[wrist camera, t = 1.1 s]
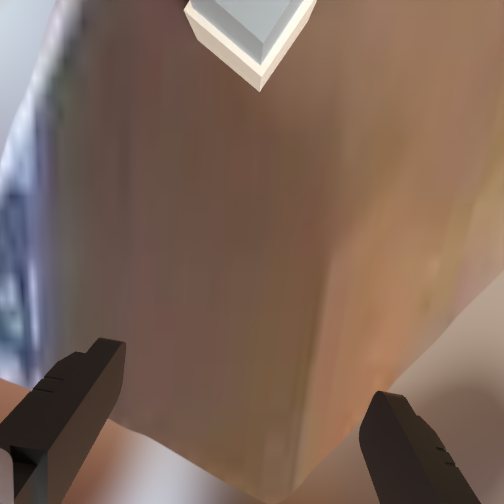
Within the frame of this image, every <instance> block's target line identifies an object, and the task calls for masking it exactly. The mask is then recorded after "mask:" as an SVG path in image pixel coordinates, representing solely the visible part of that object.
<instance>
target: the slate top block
mask: <svg viewBox="0 0 504 504" xmlns="http://www.w3.org/2000/svg"><path fill="white" fill-rule="evenodd" d="M303 1H304V0H190V2H191V4H192V7H193V9H194V10H196V11H197V12H198V13H199V14H200V15H201V16H203V17H204V18H205V19H206V20H207V21H208V22H210V23H211V24H212V25H213V26H214V27H215V28H217V29H218V30H219V31H220V32H221V33H223V34H224V35H225V36H226V37H227V38H228V39H230V40H231V41H232V42H233V43H234V44H235V45H237V46H238V47H239V48H240V49H241V50H242V51H244V52H245V53H246V54H247V55H248V56H250V57H251V58H252V59H253V60H254V61H255V62H257V63H258V64H259V65H260V66H261V64H262V63H263V61H264V60H265V58H266V57H267V55H268V54H269V52H270V51H271V49H272V48H273V46H274V45H275V43H276V42H277V40H278V39H279V37H280V36H281V34H282V33H283V31H284V29H285V28H286V26H287V25H288V23H289V22H290V20H291V19H292V17H293V16H294V14H295V13H296V11H297V10H298V8H299V7H300V5H301V4H302V2H303Z"/></svg>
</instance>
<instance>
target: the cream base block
mask: <svg viewBox="0 0 504 504" xmlns="http://www.w3.org/2000/svg"><path fill="white" fill-rule="evenodd" d="M316 1H317V0H304V1H303V2H302V4H301V5H300V7H299V8H298V10H297V11H296V13H295V14H294V16H293V17H292V19H291V20H290V22H289V23H288V25H287V26H286V28H285V29H284V31H283V33H282V34H281V36H280V37H279V39H278V40H277V42H276V43H275V45H274V46H273V48H272V49H271V51H270V52H269V54H268V55H267V57H266V58H265V60H264V61H263V63H262V64H261V66H260V65H259V64H258V63H257V62H255V61H254V60H253V59H252V58H251V57H250V56H248V55H247V54H246V53H245V52H244V51H242V50H241V49H240V48H239V47H238V46H237V45H235V44H234V43H233V42H232V41H231V40H230V39H228V38H227V37H226V36H225V35H224V34H223V33H221V32H220V31H219V30H218V29H217V28H215V27H214V26H213V25H212V24H211V23H210V22H208V21H207V20H206V19H205V18H204V17H203V16H201V15H200V14H199V13H198V12H197V11H196V10H194V9H193V7H192V4H191V2H190V0H189V2H188V4H187V6H186V7H185V9H184V12H185V14H186V16H187V18H188V21H189V23H190V25H191V27H192V29H193V31H194V33H195V35H196V38H197V40H199V41H200V42H201V43H202V44H203V45H204V46H206V47H207V48H208V49H209V50H210V51H212V52H213V53H214V54H215V55H216V56H218V57H219V58H220V59H221V60H222V61H223V62H225V63H226V64H227V65H228V66H229V67H231V68H232V69H233V70H234V71H235V72H236V73H238V74H239V75H240V76H241V77H242V78H244V79H245V80H246V81H247V82H248V83H250V84H251V85H252V86H253V87H254V88H255V89H257V90H258V91H259V92H260V90H261V89H262V87H263V86H264V84H265V83H266V82H267V80H268V79H269V77H270V76H271V74H272V73H273V71H274V70H275V68H276V67H277V65H278V64H279V63H280V61H281V60H282V58H283V57H284V55H285V54H286V52H287V51H288V49H289V48H290V47H291V45H292V44H293V42H294V41H295V39H296V38H297V36H298V35H299V33H300V32H301V30H302V29H303V28H304V26H305V25H306V23H307V22H308V19H309V17H310V15H311V13H312V10H313V8H314V6H315V3H316Z"/></svg>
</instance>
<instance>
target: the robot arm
mask: <svg viewBox="0 0 504 504" xmlns="http://www.w3.org/2000/svg"><path fill="white" fill-rule="evenodd" d="M125 353H126V343H125V342H121V341H116V340H111V339H105V338H99V339H97V340H96V342H95V343H94V344H93V345H92V346H91V348H90V349H89V350H88V351H87V352H86V353H81V352H74V353H72V354H70V355H69V356H67V357H65V358H64V359H62V360H60V361H58V362H57V363H56V364H55V365H54V366H53V367H52V368H51V370H50V371H49V372H48V373H47V374H46V375H45V376H44V379H41V380H40V381H39V382H38V384H37V385H36V386H35V387H34V388H33V390H32V392H31V391H30V392H29V393H28V394H27V395H26V397H25V398H24V399H23V400H22V401H21V402H20V403H19V404H18V405H17V406H16V407H15V408H14V410H13V411H12V412H11V413H10V414H9V415H8V416H7V417H6V418H5V419H4V420H3V421H2V422H1V424H0V504H61V502H62V501H63V499H64V497H65V495H66V493H67V491H68V490H69V488H70V486H71V484H72V482H73V480H74V479H75V477H76V475H77V473H78V471H79V469H80V468H81V466H82V464H83V462H84V460H85V459H86V457H87V455H88V453H89V451H90V449H91V448H92V446H93V444H94V442H95V440H96V438H97V437H98V435H99V433H100V431H101V429H102V427H103V426H104V424H105V422H106V420H107V418H108V416H109V415H110V413H111V411H112V409H113V407H114V406H115V404H116V401H117V399H118V397H119V394H120V390H121V387H122V381H123V372H124V362H125ZM359 442H360V447H361V451H362V453H363V456H364V459H365V462H366V465H367V468H368V470H369V473H370V476H371V479H372V482H373V484H374V487H375V490H376V493H377V496H378V499H379V501H380V504H481V503H480V501H479V500H478V498H477V497H476V495H475V494H474V492H473V490H472V489H471V487H470V486H469V484H468V483H467V481H466V479H465V478H464V476H463V475H462V473H461V472H460V470H459V468H458V467H456V466H455V462H454V461H453V459H452V457H451V456H450V454H449V453H448V452H446V448H445V447H444V445H443V443H442V442H441V440H440V439H439V437H438V436H437V434H436V432H435V431H434V430H433V429H432V428H431V427H430V426H429V425H428V424H427V423H426V422H425V421H424V420H423V419H422V418H421V417H420V416H417V415H416V414H415V412H414V411H413V409H412V407H411V406H410V404H409V403H408V401H407V399H406V398H405V397H404V396H403V395H398V394H393V393H388V392H383V391H377V392H376V393H375V394H374V396H373V398H372V401H371V403H370V405H369V408H368V410H367V412H366V415H365V417H364V419H363V421H362V424H361V426H360V431H359Z"/></svg>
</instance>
